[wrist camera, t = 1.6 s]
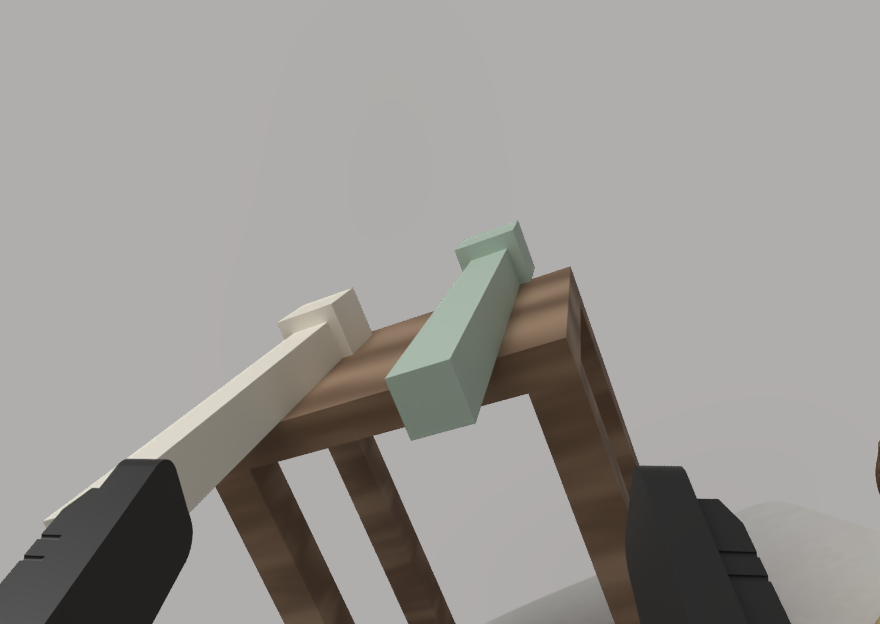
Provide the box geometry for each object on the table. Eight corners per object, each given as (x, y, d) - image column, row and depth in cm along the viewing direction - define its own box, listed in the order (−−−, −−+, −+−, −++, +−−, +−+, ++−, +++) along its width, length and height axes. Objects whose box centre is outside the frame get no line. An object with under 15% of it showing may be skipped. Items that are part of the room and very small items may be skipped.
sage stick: (495, 417, 22) (459, 326, 21) (392, 445, 23) (354, 359, 22) (534, 267, 44) (518, 220, 44) (481, 285, 45) (464, 239, 45)
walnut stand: (760, 882, 33) (566, 337, 27) (420, 893, 39) (195, 446, 33) (709, 667, 47) (570, 266, 40) (460, 699, 52) (304, 353, 46)
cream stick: (150, 565, 21) (101, 474, 20) (61, 586, 22) (12, 500, 21) (372, 334, 43) (352, 287, 43) (322, 350, 45) (302, 305, 44)
